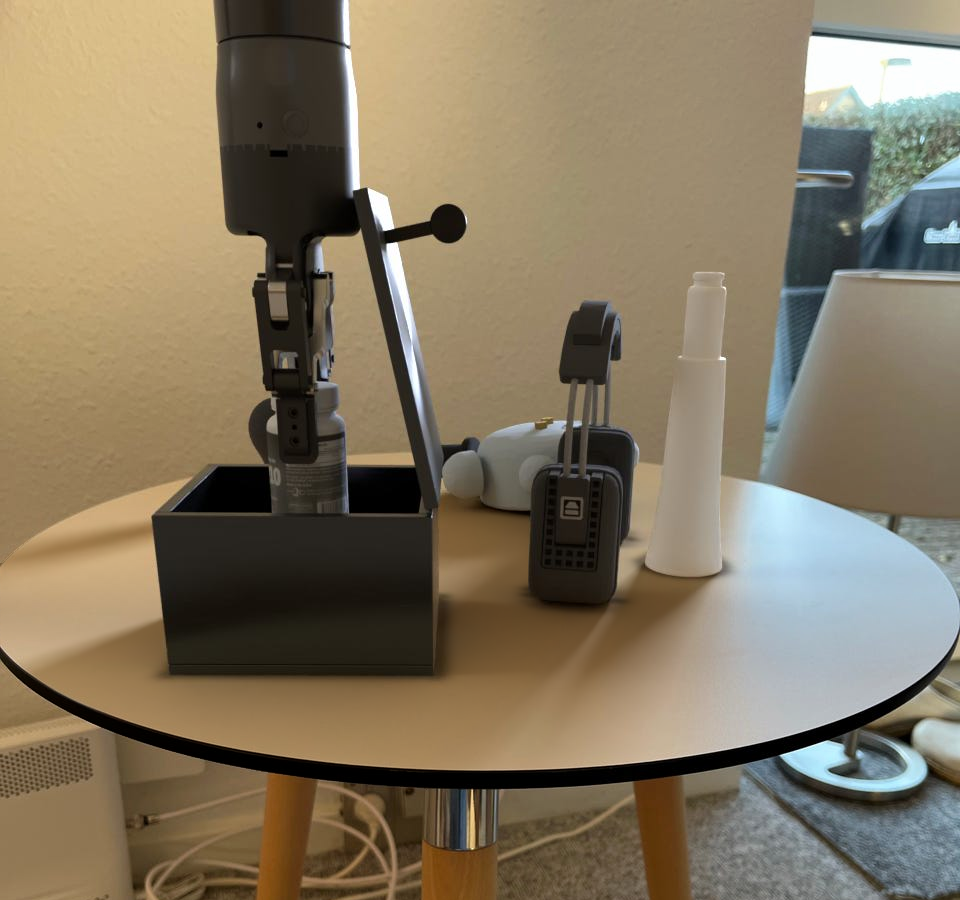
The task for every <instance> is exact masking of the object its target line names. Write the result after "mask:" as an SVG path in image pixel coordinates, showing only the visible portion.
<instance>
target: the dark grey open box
mask: <svg viewBox="0 0 960 900" xmlns="http://www.w3.org/2000/svg"><path fill="white" fill-rule="evenodd" d="M347 485H348V509H349V513H272V502H271V488H270V474H269V464H264V463H207V464H206V465H205V466H204V467H203V468H202V469H200V471H198V473H196V474H195V475H193V477H192V478H191V479H190V480H188V481H187V482H186V483H185V484H184V485H183V486H182V487H181V488H180V489H178V491H176V492H175V493H174V494H173V495H172V496H171V497H170V498H169V499H168V500H166V501H165V502H164V503H163V504H162V505H161V506H160V507H159V508H158V509H157V510H156V511H154V513H152V515H151V517H150V518H151V526H152V527H151V529H152V535H153V536H152V537H153V545H154V553H155V563H156V571H157V578H158V588H159V596H160V605H161V615H162V622H163V630H164V631H163V632H164V640H165V649H166V657H167V664H168V665H167V667H168V674H169V676H316V677H317V676H321V677H324V676H325V677H326V676H330V677H332V676H335V677H337V676H338V677H339V676H340V677H343V676H345V677H346V676H347V677H348V676H349V677H350V676H351V677H352V676H353V677H354V676H355V677H359V676H360V677H366V676H367V677H368V676H369V677H384V676H385V677H402V676H403V677H433V676H434V674H435V663H436V662H435V660H436V648H437V647H436V646H437V634H438V633H437V632H438V617H439V606H440V605H439V604H440V556H439V554H440V536H439V535H440V534H439V533H440V530H439V529H440V528H439V527H440V524H439V507H438V508H435V509H430V510H425V507H424V503H423V499H422V494H421V490H420V486H419V481H418V477H417V473H416V468H415V464H351V463H350V464H348V463H347Z"/></svg>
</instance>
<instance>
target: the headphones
mask: <svg viewBox="0 0 960 900" xmlns="http://www.w3.org/2000/svg"><path fill="white" fill-rule="evenodd" d="M622 353H623V327H622V316H621V314H620V312H619V311H614V309H613V304H612V302H611V301H610V300H583V301H582V302H581V304H580V306H579V308H578V310H573V311H572V313H571V314H570V317H569V319H568V322H567V325H566V329H565V333H564V339H563V343H562V347H561V354H560V360H559V367H558V375H559V376H558V377H559V382H560V383H561V384H564V385H569V393H568V403H567V412H566V421H567V422H566V431H565V432H564V433H563V435H562V437H561V438H560V441H559V445H558V456H557V463H556V464H549V465H545V466H543V467H542V468H540V470H539V471H538V472H537V474H536V476H535V478H534V479H533V484H532V488H531V510H530V516H529V517H530V520H529V542H528V543H529V544H528V569H527V584H528V590H529V593H530V594H531V596H532V597H534V598H536V599H538V600H543V601H549V602H561V603H574V604H587V605H598V604H605V603H606V602H608V601H609V600H611V599H612V598H613V597H614V596H615V594H616V590H617V587H618V576H619V575H618V574H619V563H620V562H619V561H620V545H621V542H624V540H626V538H627V537H628V535H629V533H630V530H631V516H632V500H633V487H634V486H633V485H634V474H635V467H634V459H635V444H634V442H635V439H634V436H633V435H632V433H630V432H629V430H626V429H624V428H622V427H621V426H614V424H612V423H610V412H611V393H612V392H611V389H612V362H619V361H620V360H621V359H622ZM578 385H585V390H584V399H583V407H582V418H581V422H582V425H579V426H577V427H573V424H574V421H575V413H576V402H577V394H578ZM599 386H604V403H603V422H601V423H600V422H599V423H598V411H599V410H598V408H599V407H598V406H599ZM590 416H591V418H590ZM590 419H591V420H590ZM589 423H590V424H589Z"/></svg>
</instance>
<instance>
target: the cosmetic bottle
mask: <svg viewBox="0 0 960 900" xmlns="http://www.w3.org/2000/svg"><path fill="white" fill-rule="evenodd" d="M692 280H693V285H691V286H689V287H688V289H687V293H686V305H685V317H684V330H683V343H682V353H681V355H678V356H677V357H676V359H675V366H674V372H673V373H674V374H673V381H672V387H671V396H670V403H669V404H670V405H669V411H668V420H667V429H666V436H665V437H666V438H665V445H664V451H663V452H664V454H663V460H662V470H661V475H660V484H659V491H658V497H657V503H656V510H655V514H654V515H655V516H654V521H653V525H652V532H651V536H650V540H649V544H648V547H647V551H646V556H645V558H644V559H645V560H644V564H645V566H646V567H647V568H648V569H650V570H651V571H653V572H656V573H659V574H662V575H667V576H673V577H682V578H699V577H702V578H703V577H707V576H713V575H716V574H718V573H720V572H721V571H722V570H723V559H722V558H723V557H722V546H721V545H722V543H721V513H720V512H721V511H720V510H721V477H722V456H723V439H724V438H723V437H724V419H725V418H724V417H725V400H726V399H725V397H726V376H727V375H726V374H727V373H726V372H727V358H726V357H723V356H722V346H723V337H724V326H725V325H724V324H725V314H726V305H727V294H728V293H727V288H726V287H725V286H723V281H724V280H725V273H724V272H722V271H721V272H720V271H719V272H718V271H695V272H692Z"/></svg>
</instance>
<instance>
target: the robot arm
mask: <svg viewBox="0 0 960 900" xmlns="http://www.w3.org/2000/svg"><path fill="white" fill-rule="evenodd" d="M212 2H213V3H212V4H213V16H214V18H213V19H214V28H215V29H214V30H215V42H216V44H217V45H216V73H215V106H216V107H215V109H216V118H217V119H216V120H217V132H218V133H217V134H218V145H219V159H220V172H221V184H222V185H221V186H222V199H223V209H224V211H223V212H224V223H225V227H226V230H227V231H228V232H229V233H230V234H232V235H234V236H240V237H260V238H262V239H263V241H264V242H265V245H266V246H265V249H264V250H265V261H264V262H265V264H264V265H265V267H264V271H265V272H256V273H257V274H256V279H254V281H253V287H251V296H252V298H253V299H254V308H255V317H256V325H257V334H258V343H259V351H260V358H261V367H262V379H261V380H262V385H263V386H264V390H265V391H266V392H270V396H271V395H272V397H273V398H277V399H276V413H277V429H278V444H279V457H280V459H281V461H282V462H284V463H286V464H312V463H314V462H315V461H316V459H317V458H318V456H319V448H318V428H317V407H316V394H317V392H318V383H317V381H319V382H330V383H331V378H332V377H333V368H334V363H336V356H335V354H334V343H335V338H336V331H335V330H336V329H335V316H334V306H333V305H334V300H335V297H336V292H337V290H336V289H337V287H336V277H335V271H331V270H325V265H324V257H323V247H322V242H323V240H324V239H325V238H350V237H356V235H358V234H359V233H360V232H361V228H360V223H359V219H358V215H357V210H356V206H355V202H354V197H353V193H352V191H353V190H357V189H361V185H360V183H361V182H360V181H361V180H360V154H359V153H360V151H359V125H358V124H359V119H358V114H359V113H358V98H357V97H358V96H357V89H356V82H355V77H354V70H353V59H352V51H351V47H352V46H351V22H350V20H351V18H350V17H351V16H350V15H351V14H350V0H212ZM284 359H286V363H287V367H285V368H284V367H283V361H284Z"/></svg>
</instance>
